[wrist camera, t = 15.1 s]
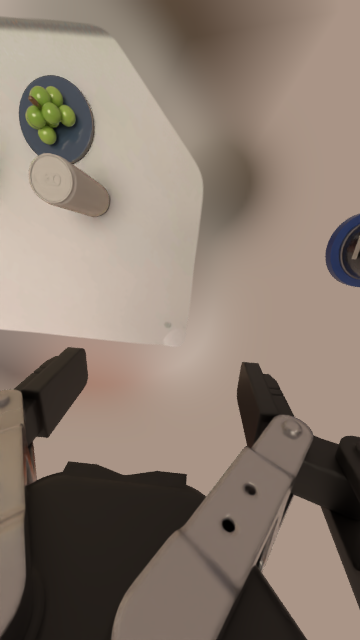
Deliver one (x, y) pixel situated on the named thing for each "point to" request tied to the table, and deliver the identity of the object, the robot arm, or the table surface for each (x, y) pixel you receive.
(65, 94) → the grapes
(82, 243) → the table surface
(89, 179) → the beverage can
